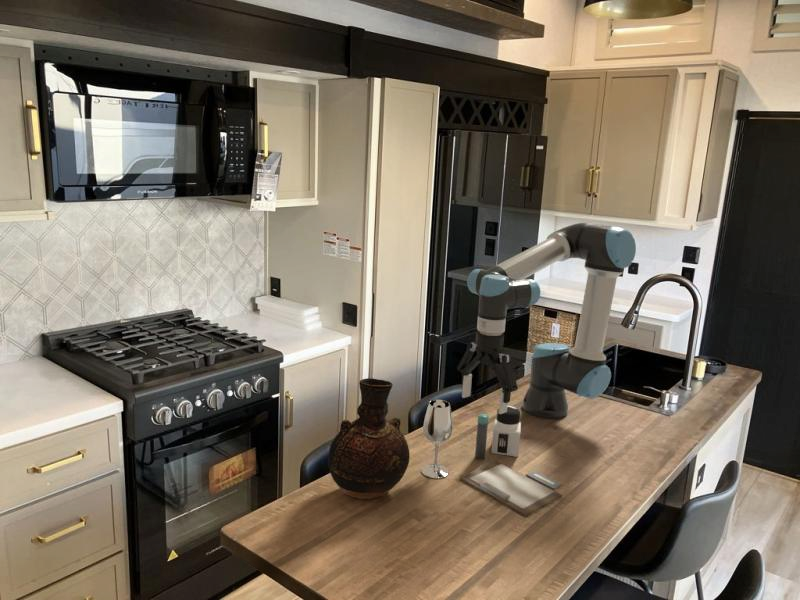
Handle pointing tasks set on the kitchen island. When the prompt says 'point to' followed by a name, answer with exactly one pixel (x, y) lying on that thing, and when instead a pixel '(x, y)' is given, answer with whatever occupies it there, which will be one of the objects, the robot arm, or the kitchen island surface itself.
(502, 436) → the container
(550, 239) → the robot arm
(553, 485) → the plate
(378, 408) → the ceramic vessel
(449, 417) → the wineglass
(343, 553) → the kitchen island surface
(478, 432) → the marker
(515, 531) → the kitchen island surface
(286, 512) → the kitchen island surface
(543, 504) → the clipboard
